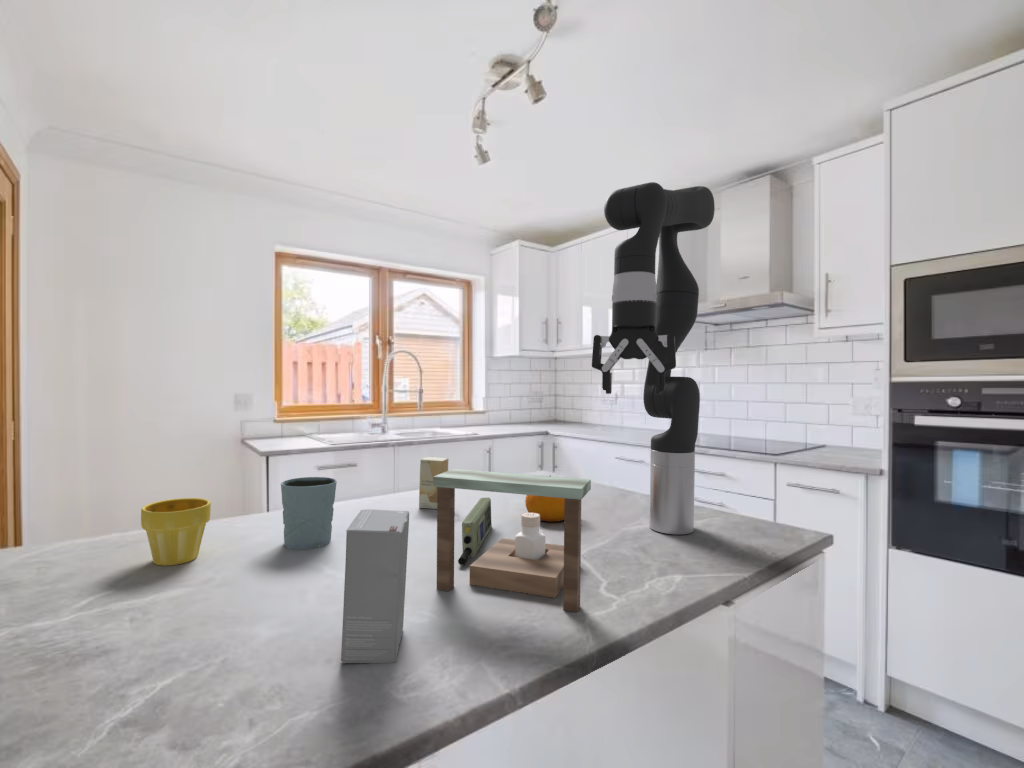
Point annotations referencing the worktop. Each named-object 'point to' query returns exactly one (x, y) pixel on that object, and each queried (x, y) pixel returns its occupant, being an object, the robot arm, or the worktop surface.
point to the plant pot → (175, 528)
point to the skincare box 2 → (430, 480)
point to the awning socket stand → (500, 559)
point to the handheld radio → (475, 528)
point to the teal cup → (308, 511)
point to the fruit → (546, 507)
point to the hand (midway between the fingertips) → (632, 393)
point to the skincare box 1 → (374, 586)
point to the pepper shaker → (530, 538)
